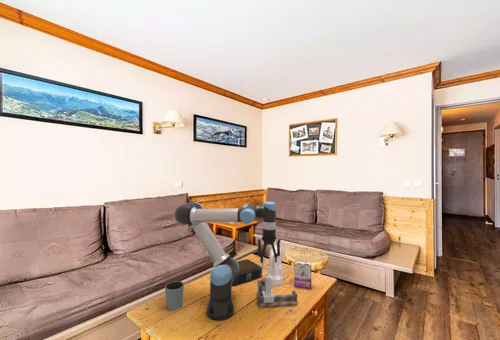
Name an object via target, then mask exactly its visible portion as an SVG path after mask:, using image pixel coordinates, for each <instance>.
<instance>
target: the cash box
mask: <svg viewBox="0 0 500 340" xmlns="http://www.w3.org/2000/svg"><path fill="white" fill-rule="evenodd" d="M236 261H237V260H236ZM237 262H238V265H239V271H238V275H237V276H236V278H235V280H234V281H233V283H232V287H236V286H239V285H242V284H246V283H250V282H252V281H255V280H259V279H262V276H263V268H262V265H259V264H257V263H256V262H254V261H252V260H250V259H248V258H245V259H242V260H238V261H237Z"/></svg>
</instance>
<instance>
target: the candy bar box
mask: <svg viewBox="0 0 500 340" xmlns="http://www.w3.org/2000/svg"><path fill="white" fill-rule="evenodd" d="M293 265H294V268H293V270H294V277H293V280H294V281H293V282H294V283H293V286H294V288H296V289H305V290H311V289H312V261H302V260H301V261H300V260H294V264H293Z"/></svg>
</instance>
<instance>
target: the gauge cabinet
mask: <svg viewBox="0 0 500 340" xmlns="http://www.w3.org/2000/svg"><path fill="white" fill-rule="evenodd" d="M262 291H265V284H263V283H262V279H261V280H260V279H257V293H258V292H260V295H261V296H262Z"/></svg>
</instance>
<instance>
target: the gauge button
mask: <svg viewBox="0 0 500 340" xmlns="http://www.w3.org/2000/svg"><path fill="white" fill-rule="evenodd" d="M265 276H266V275H262V277H261V280H262V283H263V284H265Z"/></svg>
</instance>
